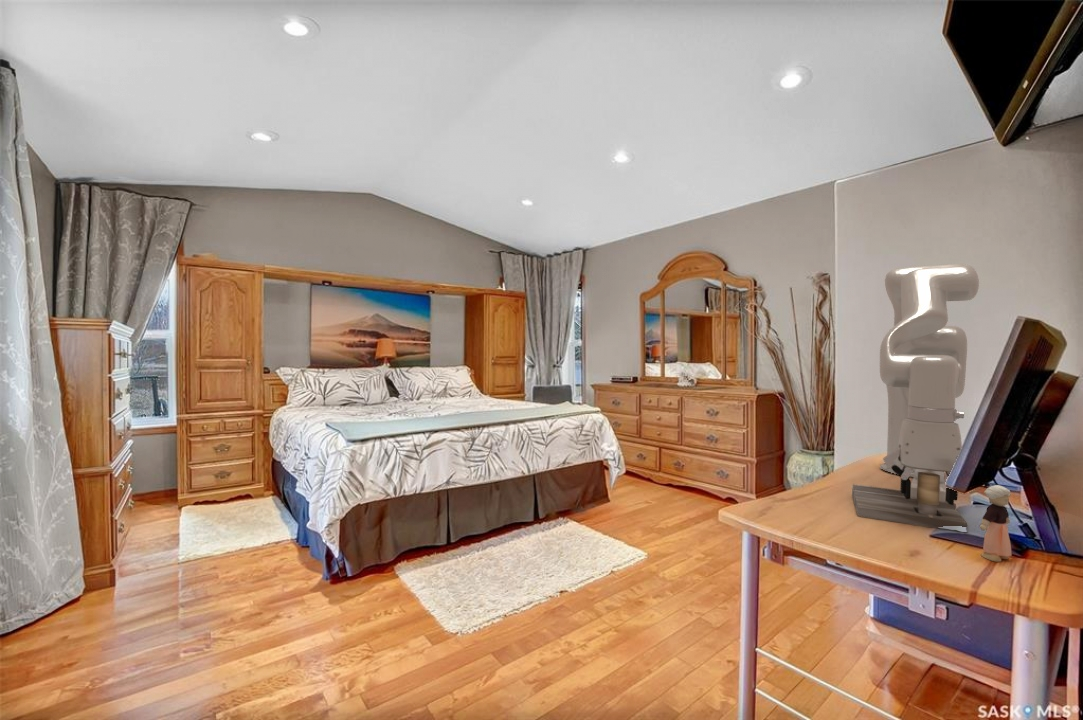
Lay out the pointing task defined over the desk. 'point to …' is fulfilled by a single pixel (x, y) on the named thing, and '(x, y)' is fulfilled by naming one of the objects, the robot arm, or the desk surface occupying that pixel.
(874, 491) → the grey ridged panel
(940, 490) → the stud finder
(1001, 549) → the grandmother figurine
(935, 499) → the tan cylinder
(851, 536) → the desk surface
